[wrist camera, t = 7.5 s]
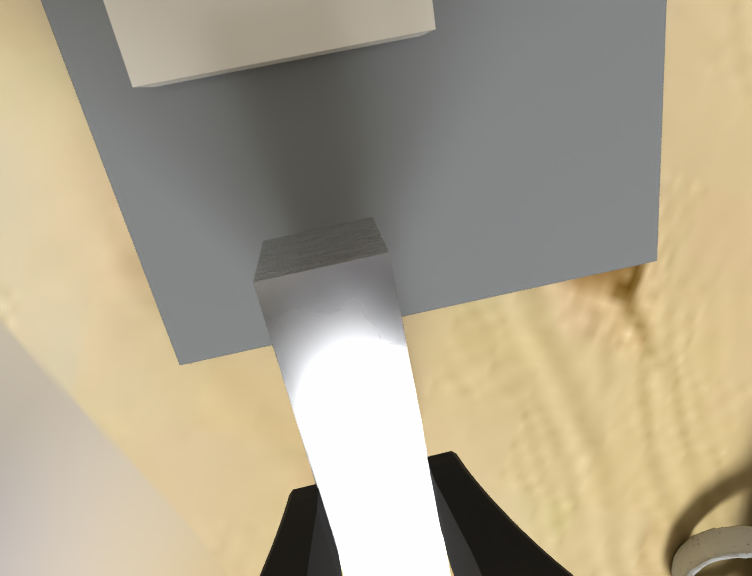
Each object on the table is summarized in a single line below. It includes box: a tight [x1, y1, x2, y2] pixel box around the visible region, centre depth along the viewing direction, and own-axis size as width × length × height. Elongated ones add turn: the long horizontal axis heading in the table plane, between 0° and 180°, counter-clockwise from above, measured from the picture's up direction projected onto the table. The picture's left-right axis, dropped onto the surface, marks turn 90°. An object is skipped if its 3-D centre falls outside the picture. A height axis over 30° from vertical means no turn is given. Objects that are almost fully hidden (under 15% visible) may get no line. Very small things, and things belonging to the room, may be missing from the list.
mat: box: [41, 0, 667, 365], centre depth 14 cm, size 16×16×1 cm
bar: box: [253, 217, 450, 576], centre depth 13 cm, size 2×12×2 cm, turn 11°
